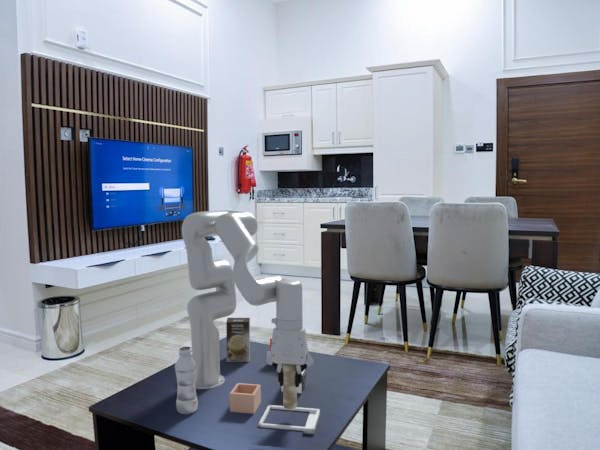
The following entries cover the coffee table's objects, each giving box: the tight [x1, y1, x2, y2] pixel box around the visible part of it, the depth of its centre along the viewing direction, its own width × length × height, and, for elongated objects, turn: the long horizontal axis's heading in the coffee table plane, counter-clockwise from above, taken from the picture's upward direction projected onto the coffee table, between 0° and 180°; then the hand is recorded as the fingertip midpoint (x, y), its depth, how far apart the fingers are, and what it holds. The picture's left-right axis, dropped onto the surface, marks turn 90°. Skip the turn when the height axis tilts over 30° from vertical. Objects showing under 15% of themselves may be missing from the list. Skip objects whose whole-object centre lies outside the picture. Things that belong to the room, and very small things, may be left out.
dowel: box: [282, 364, 298, 409], centre depth 141 cm, size 4×4×13 cm
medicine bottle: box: [280, 364, 307, 394], centre depth 162 cm, size 7×7×12 cm
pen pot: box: [229, 382, 262, 415], centre depth 149 cm, size 8×8×6 cm
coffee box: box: [225, 317, 251, 363], centre depth 190 cm, size 9×6×16 cm
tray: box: [257, 404, 321, 435], centre depth 142 cm, size 16×12×2 cm
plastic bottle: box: [174, 346, 199, 415], centre depth 146 cm, size 6×7×20 cm
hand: (290, 384), depth 141 cm, fingers closed on dowel, 4 cm apart
